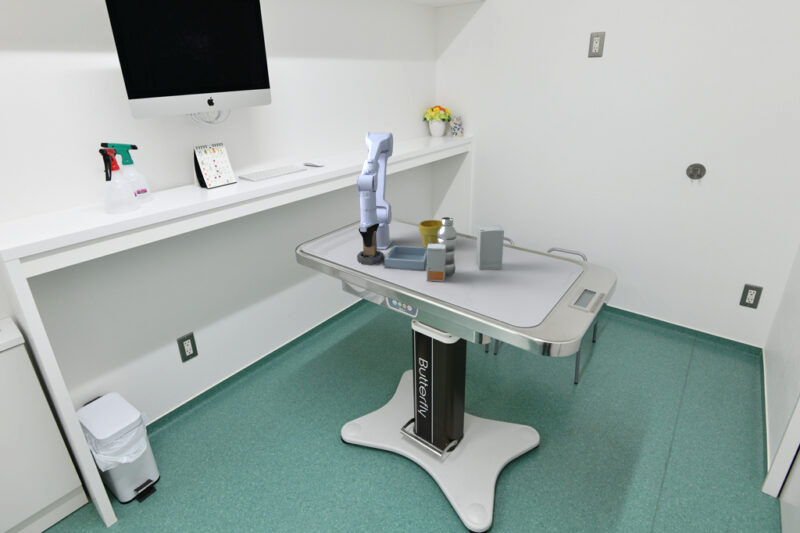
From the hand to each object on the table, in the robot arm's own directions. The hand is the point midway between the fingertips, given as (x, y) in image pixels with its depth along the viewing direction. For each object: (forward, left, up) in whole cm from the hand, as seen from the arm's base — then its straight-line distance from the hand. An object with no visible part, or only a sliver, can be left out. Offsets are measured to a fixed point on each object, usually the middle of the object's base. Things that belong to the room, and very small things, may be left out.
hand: (369, 244), depth 166 cm
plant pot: (-19, +20, -6) cm, 28 cm away
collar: (0, 0, -6) cm, 6 cm away
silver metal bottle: (+8, +29, -6) cm, 31 cm away
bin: (-1, +14, -6) cm, 15 cm away
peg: (0, 0, -3) cm, 3 cm away
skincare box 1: (+12, +26, -6) cm, 30 cm away
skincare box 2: (-2, +43, -6) cm, 44 cm away
